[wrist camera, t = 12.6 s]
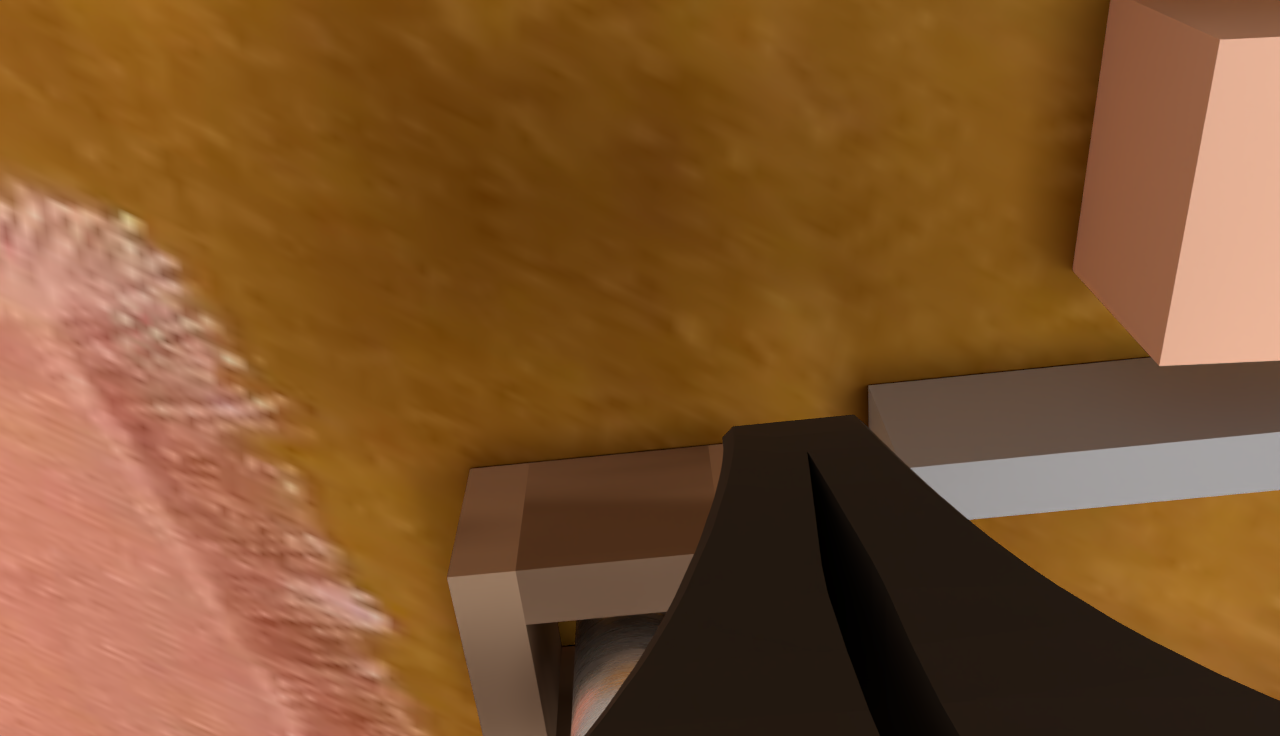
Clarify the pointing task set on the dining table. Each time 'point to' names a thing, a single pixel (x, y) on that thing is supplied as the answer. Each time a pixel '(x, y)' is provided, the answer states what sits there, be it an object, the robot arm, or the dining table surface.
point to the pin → (606, 661)
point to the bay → (1086, 434)
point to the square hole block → (567, 567)
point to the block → (1187, 179)
